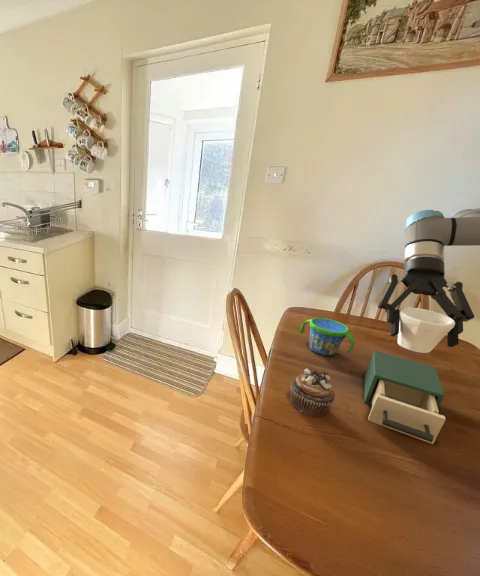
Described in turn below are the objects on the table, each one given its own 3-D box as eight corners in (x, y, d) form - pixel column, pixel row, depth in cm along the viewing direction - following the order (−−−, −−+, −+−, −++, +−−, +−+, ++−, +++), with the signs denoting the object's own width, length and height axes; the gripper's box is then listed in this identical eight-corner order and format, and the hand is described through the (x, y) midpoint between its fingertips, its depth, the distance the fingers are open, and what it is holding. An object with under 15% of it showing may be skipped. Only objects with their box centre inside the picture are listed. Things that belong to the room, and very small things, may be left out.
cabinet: (429, 425, 77) (444, 395, 73) (364, 402, 84) (374, 374, 81) (422, 393, 87) (435, 366, 84) (364, 376, 95) (374, 350, 91)
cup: (445, 350, 80) (460, 317, 76) (434, 363, 75) (450, 329, 71) (394, 334, 88) (405, 304, 84) (381, 345, 82) (393, 313, 79)
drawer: (436, 459, 67) (450, 433, 64) (367, 433, 74) (377, 408, 71) (425, 410, 80) (436, 387, 77) (368, 391, 87) (376, 369, 84)
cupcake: (284, 390, 89) (291, 360, 86) (324, 398, 86) (333, 367, 82) (290, 413, 81) (298, 381, 77) (334, 423, 78) (345, 390, 74)
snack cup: (355, 358, 103) (365, 331, 100) (336, 366, 99) (345, 339, 96) (308, 337, 117) (315, 312, 113) (290, 343, 112) (296, 318, 109)
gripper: (474, 275, 82) (478, 355, 75) (365, 263, 92) (360, 333, 85) (494, 261, 76) (500, 347, 69) (375, 250, 86) (370, 324, 79)
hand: (422, 339), depth 77 cm, fingers closed on cup, 10 cm apart
